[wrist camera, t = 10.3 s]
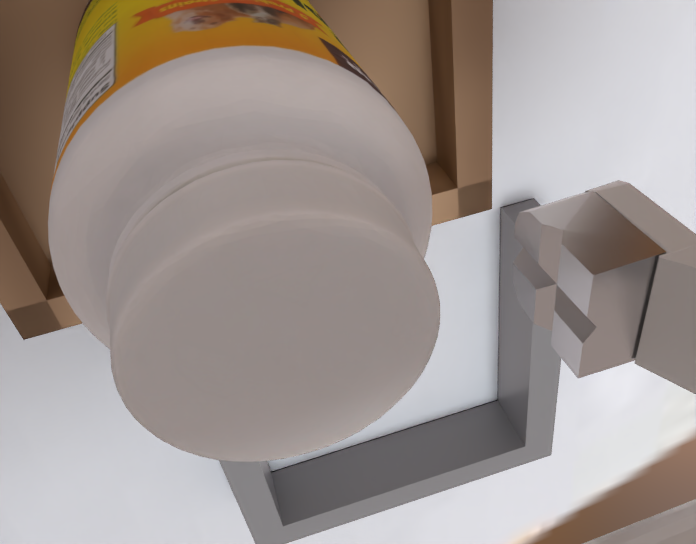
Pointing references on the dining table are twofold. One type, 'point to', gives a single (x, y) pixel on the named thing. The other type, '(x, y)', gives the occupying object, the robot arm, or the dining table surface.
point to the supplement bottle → (241, 225)
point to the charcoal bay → (419, 438)
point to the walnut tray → (354, 33)
